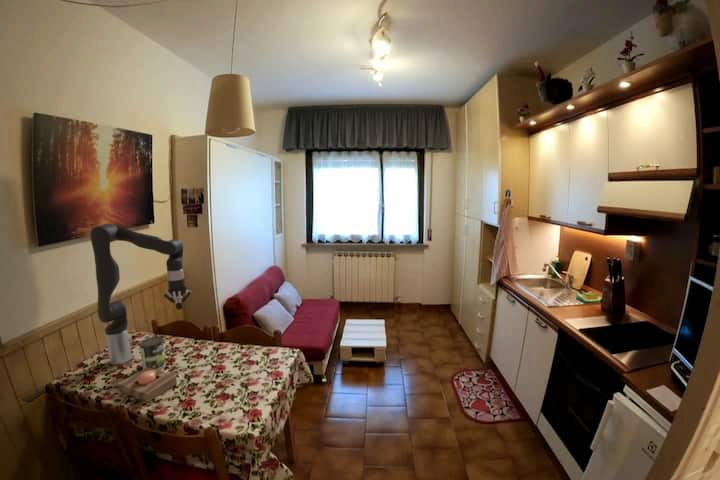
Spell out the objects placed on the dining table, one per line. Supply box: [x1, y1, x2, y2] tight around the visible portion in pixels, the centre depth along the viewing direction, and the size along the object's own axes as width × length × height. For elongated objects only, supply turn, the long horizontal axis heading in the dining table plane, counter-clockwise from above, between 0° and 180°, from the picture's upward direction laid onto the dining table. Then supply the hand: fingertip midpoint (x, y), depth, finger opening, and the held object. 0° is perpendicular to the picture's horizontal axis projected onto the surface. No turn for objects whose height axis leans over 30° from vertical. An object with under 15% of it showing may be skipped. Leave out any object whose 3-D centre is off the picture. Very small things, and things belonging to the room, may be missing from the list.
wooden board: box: [117, 367, 177, 403], centre depth 146 cm, size 20×14×4 cm
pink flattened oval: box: [138, 371, 156, 387], centre depth 146 cm, size 7×7×4 cm
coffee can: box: [138, 336, 167, 370], centre depth 162 cm, size 10×10×14 cm
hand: (179, 309), depth 164 cm, fingers closed
